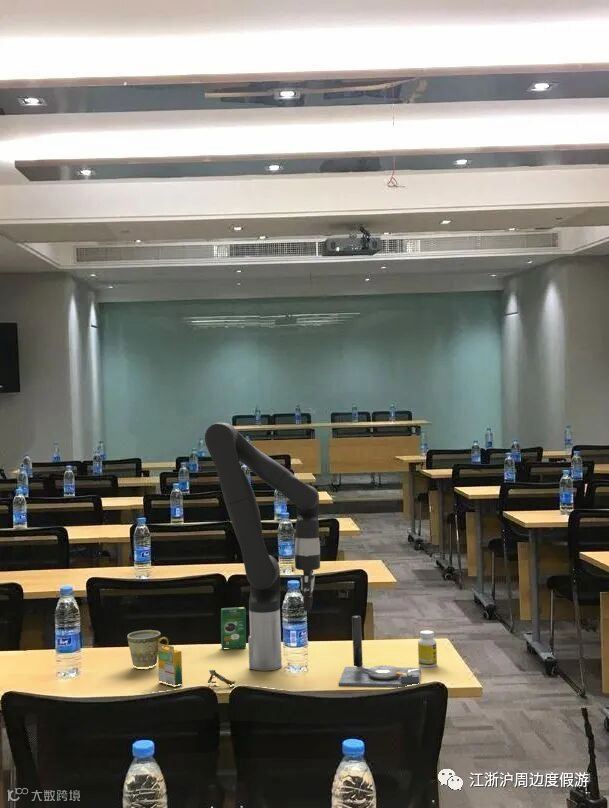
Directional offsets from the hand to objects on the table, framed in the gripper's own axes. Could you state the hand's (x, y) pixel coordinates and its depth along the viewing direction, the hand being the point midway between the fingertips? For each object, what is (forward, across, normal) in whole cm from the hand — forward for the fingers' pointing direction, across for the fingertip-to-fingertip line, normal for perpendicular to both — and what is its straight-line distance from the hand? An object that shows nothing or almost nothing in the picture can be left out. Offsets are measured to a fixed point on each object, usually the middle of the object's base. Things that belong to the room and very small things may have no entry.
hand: (308, 607), depth 254 cm
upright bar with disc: (+17, +10, +21) cm, 29 cm away
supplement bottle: (+17, -2, +35) cm, 39 cm away
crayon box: (+20, +13, -39) cm, 45 cm away
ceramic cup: (+19, -4, -49) cm, 53 cm away
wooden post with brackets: (+19, +15, -24) cm, 34 cm away
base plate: (+18, +10, +21) cm, 29 cm away
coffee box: (+18, -24, -26) cm, 39 cm away
